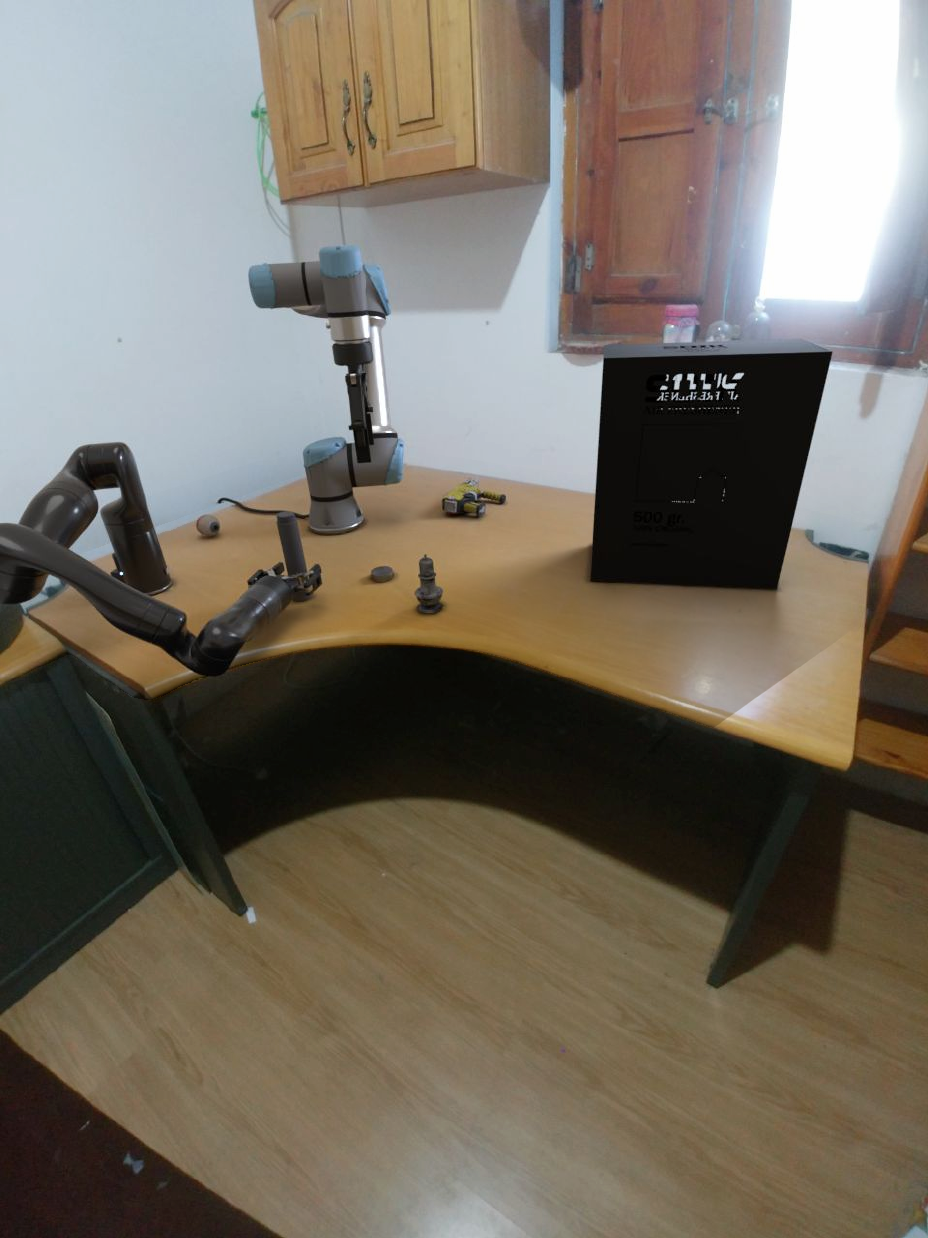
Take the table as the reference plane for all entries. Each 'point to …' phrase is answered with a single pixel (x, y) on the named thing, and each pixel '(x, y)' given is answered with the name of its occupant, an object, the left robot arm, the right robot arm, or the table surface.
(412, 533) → the table surface
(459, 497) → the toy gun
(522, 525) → the table surface
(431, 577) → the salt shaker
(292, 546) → the dark grey cylinder
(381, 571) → the lid
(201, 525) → the eyeball
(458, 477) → the table surface
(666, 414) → the cardboard box
